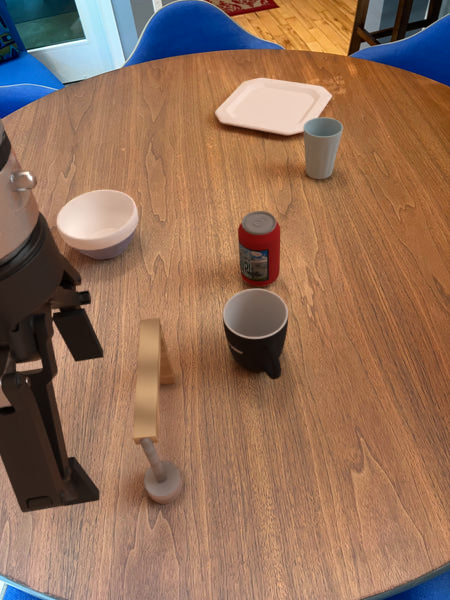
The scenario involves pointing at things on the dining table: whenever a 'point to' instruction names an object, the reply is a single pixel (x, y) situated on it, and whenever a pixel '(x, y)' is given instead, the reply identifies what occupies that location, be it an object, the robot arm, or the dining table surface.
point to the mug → (256, 330)
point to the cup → (321, 146)
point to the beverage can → (259, 248)
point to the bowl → (98, 223)
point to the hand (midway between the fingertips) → (86, 420)
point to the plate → (273, 105)
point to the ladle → (153, 410)
